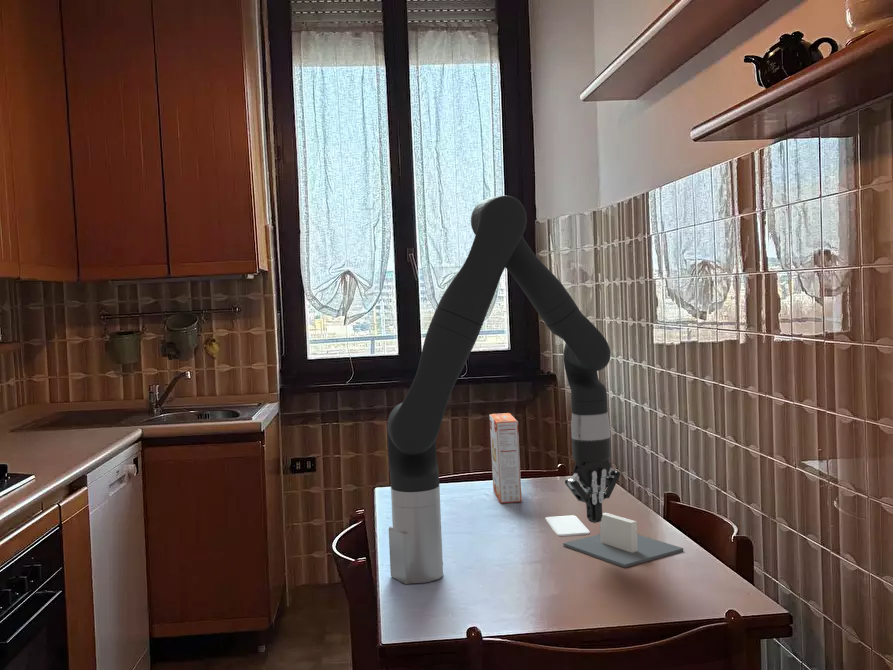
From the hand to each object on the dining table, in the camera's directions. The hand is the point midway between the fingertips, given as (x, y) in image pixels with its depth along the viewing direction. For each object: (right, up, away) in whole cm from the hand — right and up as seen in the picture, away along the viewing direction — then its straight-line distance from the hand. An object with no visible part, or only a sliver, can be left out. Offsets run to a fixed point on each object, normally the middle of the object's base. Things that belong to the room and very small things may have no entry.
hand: (595, 521), depth 171 cm
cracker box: (-14, -5, +52) cm, 54 cm away
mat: (+6, -7, +4) cm, 10 cm away
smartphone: (-2, -7, +23) cm, 24 cm away
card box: (+6, -6, +4) cm, 9 cm away
